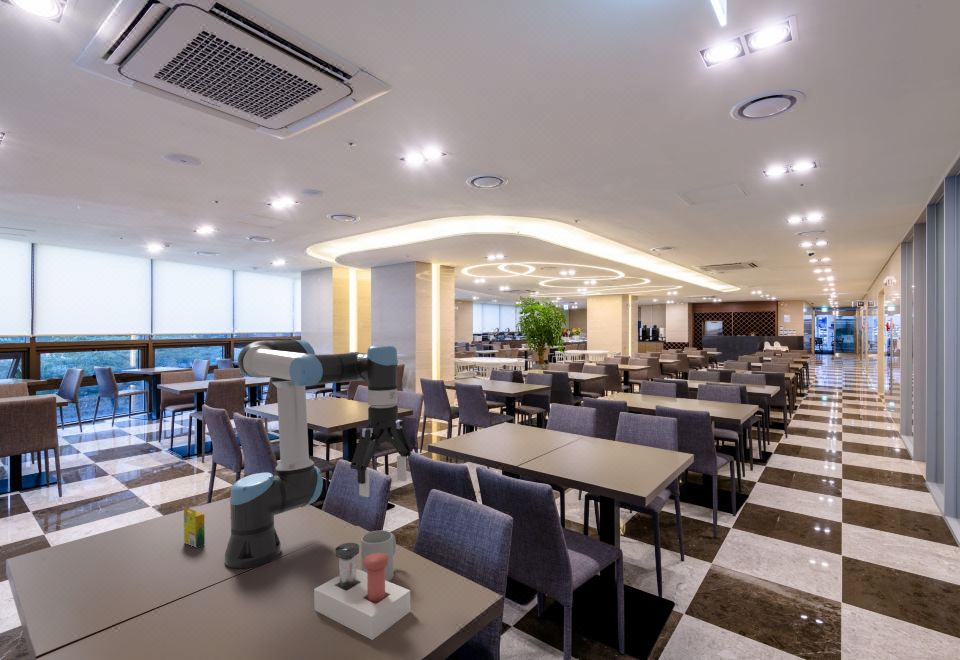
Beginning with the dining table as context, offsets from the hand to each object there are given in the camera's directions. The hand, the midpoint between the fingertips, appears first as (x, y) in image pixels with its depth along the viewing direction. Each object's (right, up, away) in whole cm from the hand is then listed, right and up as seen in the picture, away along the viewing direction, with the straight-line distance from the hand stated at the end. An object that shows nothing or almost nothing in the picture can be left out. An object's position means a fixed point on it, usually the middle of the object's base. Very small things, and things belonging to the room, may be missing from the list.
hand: (384, 487), depth 118 cm
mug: (-2, -27, +8) cm, 28 cm away
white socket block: (-3, -26, -9) cm, 28 cm away
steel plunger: (-8, -22, -6) cm, 24 cm away
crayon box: (-67, -28, +28) cm, 77 cm away
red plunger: (+1, -22, -12) cm, 25 cm away
